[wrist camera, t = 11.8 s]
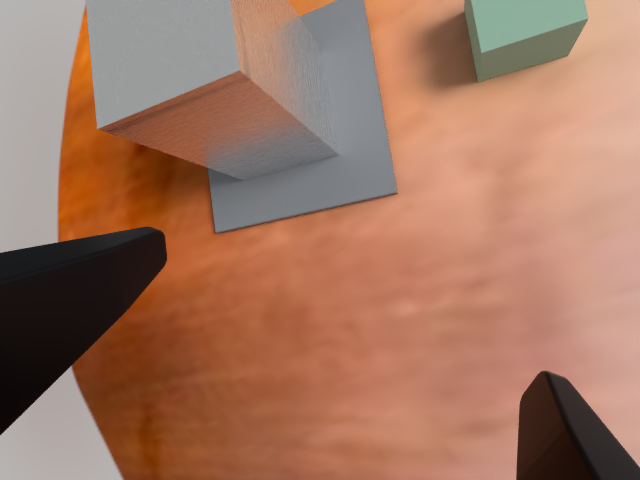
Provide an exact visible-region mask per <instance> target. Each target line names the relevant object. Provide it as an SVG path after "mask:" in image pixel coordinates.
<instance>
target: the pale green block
mask: <svg viewBox="0 0 640 480" xmlns="http://www.w3.org/2000/svg"><path fill="white" fill-rule="evenodd" d="M464 12H465V17H466V23H467V28H468V33H469V38H470V43H471V49H472V54H473V59H474V64H475V69H476V74H477V80H478V82H481V81H484V80H488V79H491V78H495V77H498V76H501V75H505V74H508V73H511V72H515V71H518V70H521V69H525V68H528V67H531V66H535V65H538V64H542V63H545V62H548V61H552V60H555V59H558V58H562V57H565V56H568V55H569V53H570V51H571V49H572V47H573V46H574V44H575V42H576V40H577V38H578V37H579V35H580V33H581V31H582V29H583V27H584V26H585V24H586V22H587V20H588V14H587V10H586V5H585V1H584V0H465V5H464Z"/></svg>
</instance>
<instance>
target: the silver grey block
mask: <svg viewBox="0 0 640 480" xmlns="http://www.w3.org/2000/svg"><path fill="white" fill-rule="evenodd" d="M86 9H87V20H88V31H89V42H90V53H91V64H92V75H93V86H94V97H95V108H96V119H97V129H99V130H102V131H104V132H107V133H110V134H113V135H116V136H119V137H122V138H124V139H127V140H130V141H133V142H136V143H139V144H141V145H144V146H147V147H150V148H153V149H156V150H159V151H161V152H164V153H167V154H170V155H173V156H176V157H179V158H181V159H184V160H187V161H190V162H193V163H196V164H198V165H201V166H204V167H207V168H210V169H213V170H216V171H218V172H221V173H224V174H227V175H230V176H233V177H236V178H238V179H241V180H244V181H248V180H251V179H255V178H258V177H262V176H266V175H269V174H273V173H276V172H280V171H284V170H287V169H291V168H294V167H298V166H302V165H305V164H309V163H312V162H316V161H319V160H323V159H327V158H330V157H334V156H337V155H339V149H338V143H337V137H336V131H335V125H334V118H333V112H332V106H331V100H330V94H329V88H328V82H327V75H326V69H325V63H324V57H323V52H322V50H321V49H320V47H319V46H318V44H317V43H316V41H315V40H314V38H313V37H312V35H311V34H310V32H309V31H308V29H307V28H306V26H305V25H304V23H303V22H302V20H301V19H300V17H299V16H298V14H297V13H296V11H295V10H294V8H293V7H292V5H291V4H290V2H289V1H288V0H86Z"/></svg>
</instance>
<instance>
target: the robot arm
mask: <svg viewBox="0 0 640 480" xmlns="http://www.w3.org/2000/svg"><path fill="white" fill-rule="evenodd" d="M166 261H167V251H166V241H165V235H164V233H163V232H162V231H160V230H157V229H154V228H152V227H142V228H136V229H131V230H125V231H119V232H114V233H108V234H103V235H97V236H92V237H86V238H80V239H75V240H69V241H64V242H58V243H53V244H47V245H41V246H36V247H30V248H25V249H20V250H14V251H8V252H3V253H0V435H1V434H2V433H3V432H4V431H5V430H6V429H7V428H8V427H9V426H10V425H11V424H12V423H13V422H14V421H15V420H16V419H17V418H18V417H19V416H21V415H22V414H23V413H24V411H26V410H27V409H28V408H29V407H30V406H31V405H32V404H33V403H34V402H35V400H37V399H38V398H39V397H40V396H41V395H42V394H43V393H44V392H45V391H46V390H47V389H48V388H49V387H50V386H51V385H52V384H53V383H54V382H55V381H56V380H57V379H58V378H59V377H60V376H61V375H62V374H63V373H64V372H65V371H66V370H67V369H68V368H69V367H70V366H71V365H72V364H73V363H74V362H75V361H76V360H78V359H79V358H80V357H81V356H82V355H83V354H84V353H85V352H86V351H87V350H88V349H89V348H90V347H91V346H92V345H93V344H94V343H95V342H96V341H97V340H98V339H99V338H100V337H101V336H102V335H103V334H104V333H105V332H106V331H107V330H108V329H109V328H110V327H111V326H112V325H113V324H114V323H115V322H116V321H117V320H118V319H119V318H120V317H121V316H122V315H123V314H124V313H125V312H126V311H127V310H128V309H129V308H130V306H131V305H132V304H133V303H134V302H135V301H136V300H137V298H138V297H139V296H140V295H141V294H142V292H143V291H144V290H145V289H146V288H147V286H148V285H149V284H150V283H151V282H152V280H153V279H154V278H155V277H156V276H157V274H158V273H159V272H160V271H161V270H162V269H163V267H164V266H165V264H166ZM516 480H640V467H639V466H638V465H637V464H636V462H635V461H634V460H633V459H632V457H631V456H630V455H629V454H628V452H627V451H626V450H625V449H624V448H623V446H622V445H621V444H620V443H619V441H618V440H617V439H616V438H615V437H614V435H613V434H612V433H611V432H610V430H609V429H608V428H607V427H606V426H605V424H604V423H603V422H602V421H601V419H600V418H599V417H598V416H597V415H596V413H595V412H594V411H593V410H592V408H591V407H590V406H589V405H588V404H587V402H586V401H585V400H584V399H583V397H582V396H581V395H580V394H579V393H578V391H577V390H576V389H575V388H574V386H573V385H572V384H571V383H570V382H569V381H568V379H566V378H565V377H562V376H560V375H557V374H554V373H551V372H549V371H541V372H540V373H539V374H538V375H537V376H536V378H535V379H534V380H533V382H532V383H531V384H530V386H529V387H528V388H527V390H526V391H525V392H524V394H523V395H522V398H521V401H520V409H519V430H518V450H517V476H516Z"/></svg>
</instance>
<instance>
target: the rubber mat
mask: <svg viewBox="0 0 640 480" xmlns="http://www.w3.org/2000/svg"><path fill="white" fill-rule="evenodd" d="M300 19H301V20H302V22H303V23H304V25H305V26H306V28H307V29H308V31H309V32H310V34H311V35H312V37H313V38H314V40H315V41H316V43H317V44H318V46H319V47H320V49H321V50H322V52H323V57H324V63H325V69H326V75H327V82H328V88H329V94H330V100H331V106H332V112H333V118H334V125H335V131H336V137H337V143H338V149H339V155H337V156H334V157H330V158H327V159H323V160H319V161H316V162H312V163H309V164H305V165H302V166H298V167H294V168H291V169H287V170H284V171H280V172H276V173H273V174H269V175H266V176H262V177H258V178H255V179H251V180H248V181H244V180H241V179H238V178H236V177H233V176H230V175H227V174H224V173H221V172H218V171H216V170H213V169H210V168H208V174H209V183H210V191H211V199H212V208H213V216H214V224H215V232H216V233H223V232H227V231H232V230H236V229H241V228H245V227H250V226H254V225H259V224H263V223H268V222H272V221H277V220H281V219H286V218H290V217H295V216H299V215H304V214H308V213H313V212H317V211H322V210H326V209H331V208H335V207H340V206H344V205H349V204H353V203H358V202H362V201H367V200H371V199H376V198H380V197H385V196H389V195H394V194H398V192H397V186H396V180H395V174H394V169H393V163H392V157H391V152H390V146H389V140H388V135H387V129H386V123H385V118H384V112H383V106H382V101H381V95H380V89H379V84H378V78H377V72H376V67H375V61H374V55H373V50H372V44H371V38H370V32H369V27H368V21H367V15H366V10H365V4H364V0H337V1H335V2H332V3H330V4H328V5H325V6H323V7H321V8H319V9H316V10H314V11H312V12H310V13H307V14H305V15H303V16H301V17H300Z"/></svg>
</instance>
